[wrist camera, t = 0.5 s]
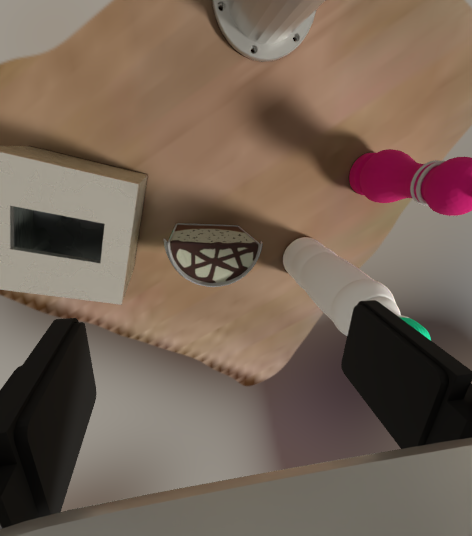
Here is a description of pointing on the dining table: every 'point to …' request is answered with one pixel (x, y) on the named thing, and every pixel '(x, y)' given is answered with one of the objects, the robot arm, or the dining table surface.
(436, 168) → the pepper mill
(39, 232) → the box
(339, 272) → the water bottle
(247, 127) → the dining table surface
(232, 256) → the half-round slice
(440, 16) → the dining table surface
